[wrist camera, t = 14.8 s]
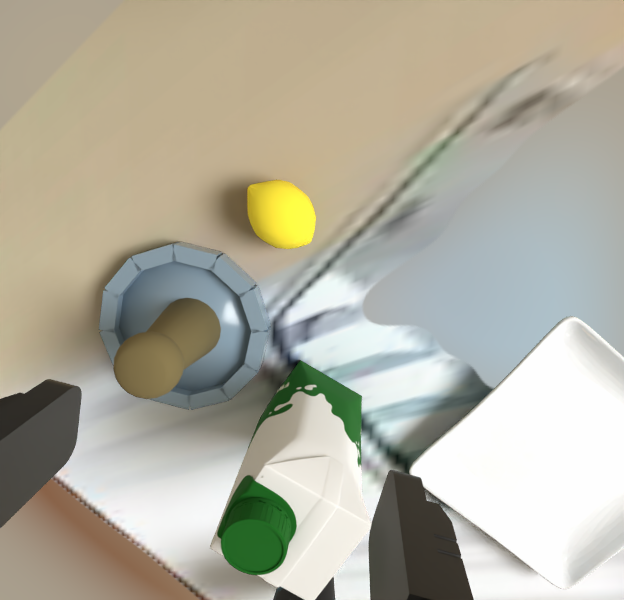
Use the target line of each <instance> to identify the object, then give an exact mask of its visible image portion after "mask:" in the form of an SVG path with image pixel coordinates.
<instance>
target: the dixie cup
mask: <svg viewBox="0 0 624 600" xmlns="http://www.w3.org/2000/svg"><path fill="white" fill-rule="evenodd" d="M273 600H304V599H302V598H300V597H299V596H297V595H295V594H293V593H291V592H290V591H288V590H286V589H284V588H282V587H281V586H279V587H277V589H276V593H275V596H274V599H273ZM315 600H335V591H334V577H332V578H331V580H330V581H329V582H328V584H327V585H326V586H325V587H324V589H323V590H322V591H321V593H320V594H319V595H318V596H317V598H316V599H315Z"/></svg>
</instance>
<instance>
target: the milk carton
mask: <svg viewBox="0 0 624 600" xmlns="http://www.w3.org/2000/svg"><path fill="white" fill-rule="evenodd" d="M361 401H362V396H361V395H359V394H357V393H356V392H354V391H352V390H350V389H349V388H347V387H345V386H344V385H342V384H340V383H338V382H337V381H335V380H333V379H332V378H330V377H328V376H326V375H325V374H323V373H321V372H320V371H318V370H316V369H314V368H313V367H311V366H309V365H308V364H306V363H304V362H303V361H301V360H300V362H299V363H298V364H297V366H296V367H295V368H294V370H293V371H292V372H291V374H290V375H289V376H288V378H287V379H286V380H285V382H284V383H283V384H282V386H281V387H280V388H279V390H278V391H277V392H276V394H275V395H274V397H273V398H272V400H271V401H270V403H269V405H268V406H267V408H266V409H265V411H264V413H263V414H262V416H261V418H260V420H259V422H258V425H257V427H256V430H255V432H254V435H253V437H252V440H251V442H250V445H249V447H248V450H247V452H246V455H245V457H244V460H243V462H242V465H241V467H240V470H239V472H238V475H237V478H236V480H235V483H234V486H233V488H232V491H231V494H230V496H229V499H228V501H227V504H226V507H225V509H224V512H223V514H222V517H221V520H220V522H219V525H218V527H217V530H216V532H215V535H214V538H213V540H212V543H211V545H210V547H211V549H212V550H214V551H215V552H217V553H219V554H221V555H222V556H224V557H225V559H226V560H227V561H228V563H229V564H230V565H232V566H233V567H234V568H236V569H237V570H239V571H241V572H243V573H246V574H251V575H257V576H259V577H261V578H263V580H265V581H266V582H268V583H269V584H271V585H273V586H275V587H279V586H281V587H282V588H284V589H286V590H288V591H290V592H291V593H293V594H295V595H297V596H299V597H300V598H302V599H304V600H315V599H316V598H317V596H318V595H319V594H320V593H321V591H322V590H323V589H324V587H325V586H326V585H327V584H328V582H329V581H330V580H331V578H332V577H333V576H334V575H335V573H336V572H337V571H338V569H339V568H340V567H341V566H342V564H343V563H344V562H345V560H346V559H347V558H348V557H349V555H350V554H351V553H352V551H353V550H354V549H355V548H356V546H357V545H358V544H359V542H360V541H361V540H362V539H363V537H364V536H365V535H366V533H367V532H368V531H369V530H370V528H371V525H372V524H371V521H370V518H369V515H368V512H367V509H366V506H365V504H364V501H363V498H362V473H361Z"/></svg>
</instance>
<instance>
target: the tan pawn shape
mask: <svg viewBox="0 0 624 600" xmlns="http://www.w3.org/2000/svg"><path fill="white" fill-rule="evenodd" d="M220 333H221V327H220V322H219V319H218V317H217V315H216V313H215V312H214V310H213V309H212V308H211V307H209V306H208V305H207V304H206V303H204V302H202V301H200V300H198V299H193V298H182V299H178V300H176V301H174V302H172V303H170V304H169V305H168V306H167V308H166V309H165V310H164V311H163V312H162V313H161V314H160V316H159V317H158V318H157V319H156V320H155V322H154V323H153V324H152V325H151V326H150V328H149V329H148V330H147V331H146V332H142V333H138V334H136V335H134V336H132V337H130V338H128V339H127V340H125V342H124V343H123V344H122V345H121V346H120V347H119V349H118V350H117V353H116V355H115V357H114V373H115V376H116V379H117V381H118V383H119V384H120V386H121V387H122V388H123V389H124V390H125V391H126V392H128V393H129V394H131V395H133V396H135V397H140V398H145V399H152V398H158V397H160V396H162V395H165V394H167V393H169V392H170V391H171V390H172V389H173V388H174V387H175V386H176V385H177V384H178V382H179V380H180V378H181V376H182V374H183V370H184V369H186V368H187V367H189V366H190V365H192V364H193V363H195V362H196V361H198V360H199V359H200V358H202V357H203V356H205V355H206V354H208V353H209V352H210V351H211V350H212V349H213V348H214V347H216V345H217V343H218V341H219V339H220Z"/></svg>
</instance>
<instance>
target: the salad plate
mask: <svg viewBox="0 0 624 600" xmlns="http://www.w3.org/2000/svg"><path fill="white" fill-rule="evenodd" d="M409 473H410V475H414V476H417V477H420V478H421V479H422V483H423V487H424V488H425V489H427V490H428V491H429V492H430V493H432V494H433V495H434V496H436V497H437V498H439V499H440V500H441V501H443V502H444V503H445V504H447V505H448V506H449V507H451V508H452V509H454V510H455V511H456V512H458V513H459V514H460V515H462V516H463V517H465V518H466V519H468V520H469V521H470V522H472V523H473V524H474V525H476V526H477V527H478V528H480V529H481V530H483V531H484V532H485V533H487V534H488V535H489V536H491V537H492V538H493V539H495V540H496V541H497V542H499V543H500V544H501V545H503V546H504V547H505V548H506V549H508V550H509V551H510V552H512V553H513V554H514V555H515V556H517V557H518V558H519V559H520V560H522V561H523V562H524V563H525V564H527V565H528V566H529V567H531V568H532V569H533V570H534V571H536V572H537V573H538V574H539V575H541V576H542V577H543V578H545V579H546V580H547V581H549V582H550V583H551V584H553V585H555V586H556V587H558V588H560V589H569V588H571V587H573V586H574V585H576V584H578V583H579V582H580V581H582V580H583V579H584V578H586V577H587V576H588V575H590V574H591V573H592V572H594V571H595V570H596V569H597V568H599V567H600V566H601V565H603V564H604V563H605V562H607V561H608V560H609V559H611V558H612V557H613V556H614V555H616V554H617V553H618V552H619V551H621V550H622V549H623V548H624V357H623V356H622V355H621V354H620V353H618V352H617V351H616V350H615V349H614V348H613V347H612V346H611V345H610V344H608V342H606V341H605V340H604V339H603V338H602V337H601V336H600V335H598V333H596V332H595V331H594V330H593V329H592V328H591V327H589V326H588V325H587V324H585V323H584V322H583V321H581V320H580V319H578V318H577V317H573V316H571V317H566V318H564V319H562V320H561V321H560V322H558V323H557V324H556V326H554V327H553V329H552V330H551V331H550V332H549V333H548V334H547V335H546V336H545V337H544V338H543V339H542V340H541V341H540V342H539V343H538V344H537V345H536V346H535V347H534V348H533V349H532V350H531V351H530V352H529V353H528V355H527V356H526V357H525V358H524V359H523V360H522V361H521V362H520V363H519V364H518V365H517V366H516V367H515V368H514V369H513V370H512V371H511V372H510V374H508V375H507V376H506V377H505V378H504V379H503V381H501V382H500V383H499V385H497V386H496V387H495V388H494V389H493V390H492V391H491V392H490V393H489V394H488V395H487V396H486V397H485V398H484V399H483V400H482V401H481V402H480V403H479V404H478V405H476V406H475V407H474V408H473V409H472V410H471V411H470V412H469V413H468V414H467V415H466V416H465V417H463V418H462V419H461V420H460V421H459V422H458V423H457V424H455V425H454V426H453V427H452V428H451V429H450V430H448V431H447V432H446V433H445V434H443V435H442V436H441V437H440V438H439V439H438V440H436V441H435V442H434V443H433V444H432V445H431V446H429V447H428V448H427V449H426V450H425V451H424V452H423V453H422V454H421V455H420V456H419V457H418V458H417V459H416V460H415V461H414V462H413V463H412V465H411V467H410V470H409Z"/></svg>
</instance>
